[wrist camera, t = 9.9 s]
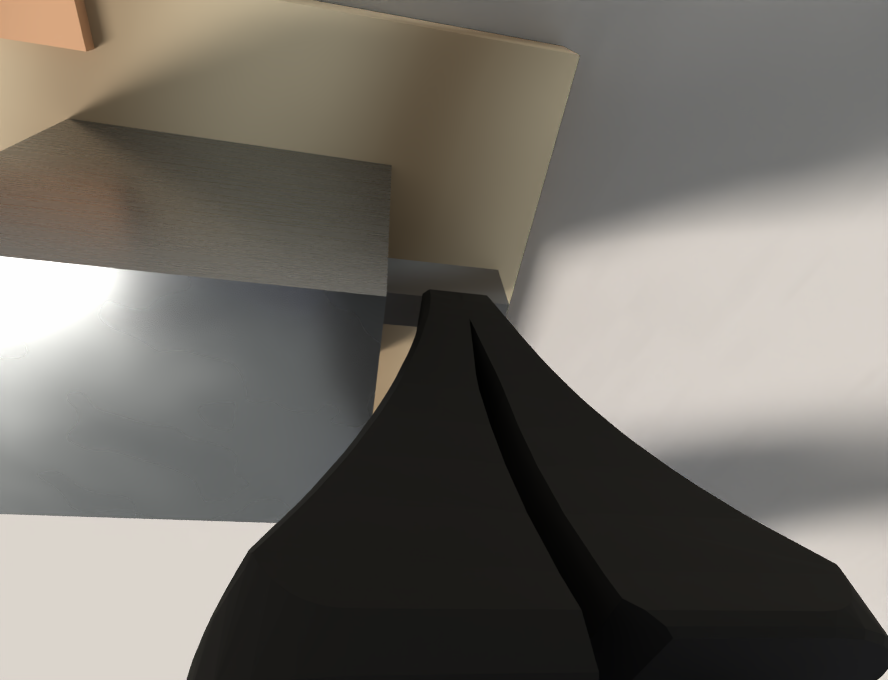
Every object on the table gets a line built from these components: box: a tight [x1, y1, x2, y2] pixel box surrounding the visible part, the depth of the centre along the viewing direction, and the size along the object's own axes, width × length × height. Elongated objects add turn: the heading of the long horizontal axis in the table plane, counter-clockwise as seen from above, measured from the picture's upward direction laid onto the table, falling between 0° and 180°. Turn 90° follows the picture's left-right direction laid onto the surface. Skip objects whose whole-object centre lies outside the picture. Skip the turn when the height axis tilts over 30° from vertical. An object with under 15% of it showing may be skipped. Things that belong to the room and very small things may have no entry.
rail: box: [0, 0, 580, 413], centre depth 10 cm, size 18×10×4 cm, turn 81°
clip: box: [0, 118, 392, 523], centre depth 9 cm, size 6×5×5 cm
